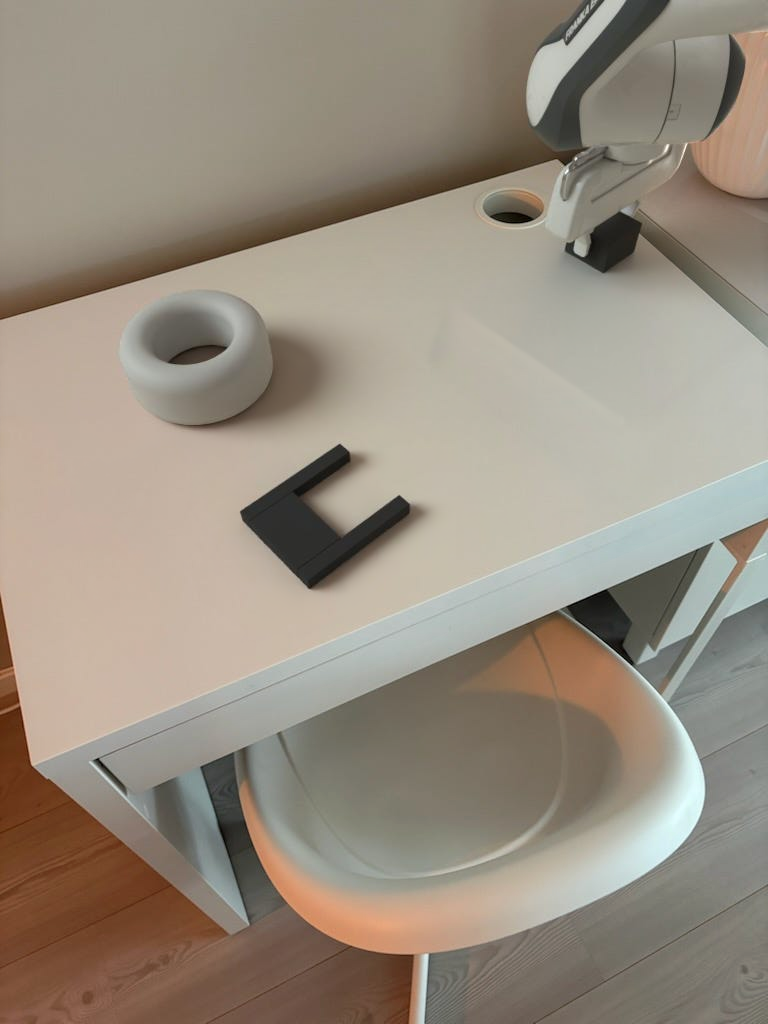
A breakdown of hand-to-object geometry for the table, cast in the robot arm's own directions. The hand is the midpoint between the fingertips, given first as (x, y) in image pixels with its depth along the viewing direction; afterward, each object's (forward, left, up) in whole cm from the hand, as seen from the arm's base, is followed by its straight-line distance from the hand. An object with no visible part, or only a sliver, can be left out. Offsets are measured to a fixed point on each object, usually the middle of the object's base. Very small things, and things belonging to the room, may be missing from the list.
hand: (602, 239), depth 91 cm
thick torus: (+15, +48, -2) cm, 50 cm away
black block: (0, 0, -2) cm, 2 cm away
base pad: (-8, +50, -2) cm, 51 cm away
